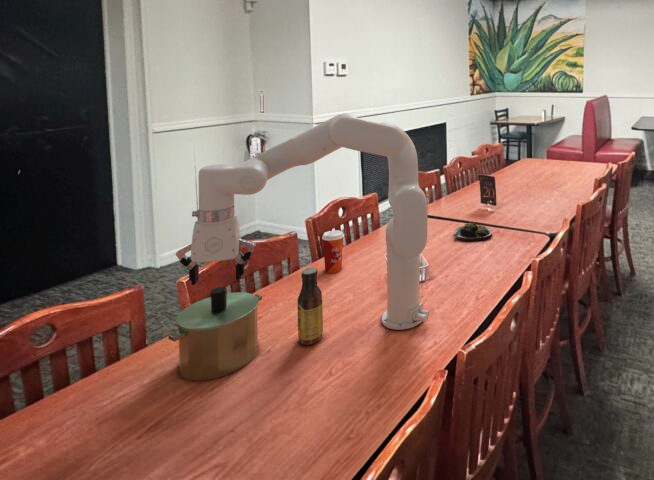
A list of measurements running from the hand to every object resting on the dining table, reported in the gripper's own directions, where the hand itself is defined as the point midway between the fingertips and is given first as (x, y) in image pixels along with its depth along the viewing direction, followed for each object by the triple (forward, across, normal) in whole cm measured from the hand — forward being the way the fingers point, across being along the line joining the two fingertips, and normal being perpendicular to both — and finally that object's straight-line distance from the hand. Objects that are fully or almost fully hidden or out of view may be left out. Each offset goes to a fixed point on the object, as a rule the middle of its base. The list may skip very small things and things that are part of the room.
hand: (217, 280), depth 114 cm
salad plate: (+20, +85, +66) cm, 109 cm away
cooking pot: (+21, 0, 0) cm, 21 cm away
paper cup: (+21, +26, +47) cm, 57 cm away
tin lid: (+8, 0, 0) cm, 8 cm away
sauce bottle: (+21, +22, +2) cm, 30 cm away
